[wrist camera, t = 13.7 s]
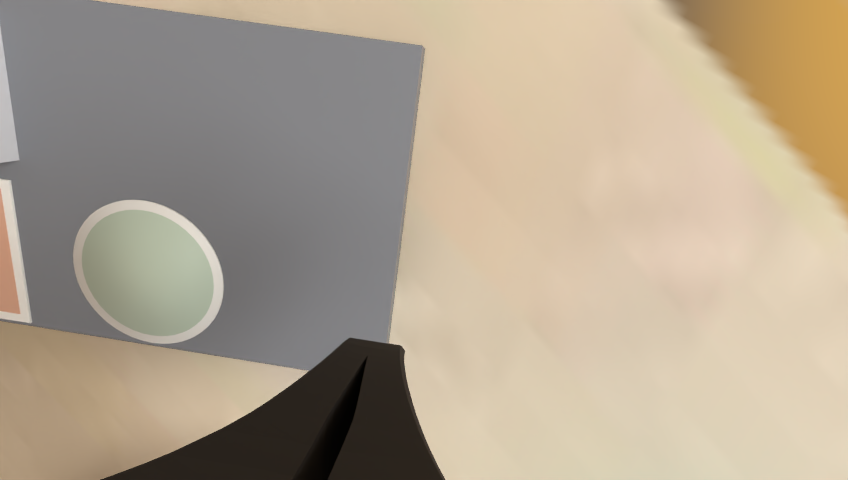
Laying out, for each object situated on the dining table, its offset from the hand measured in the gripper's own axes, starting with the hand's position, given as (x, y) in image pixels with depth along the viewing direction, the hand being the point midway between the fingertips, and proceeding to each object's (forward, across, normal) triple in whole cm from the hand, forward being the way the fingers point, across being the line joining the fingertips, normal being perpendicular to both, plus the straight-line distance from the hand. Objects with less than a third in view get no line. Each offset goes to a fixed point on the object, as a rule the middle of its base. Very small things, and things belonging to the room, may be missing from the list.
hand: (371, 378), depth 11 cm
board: (+9, +13, -1) cm, 16 cm away
